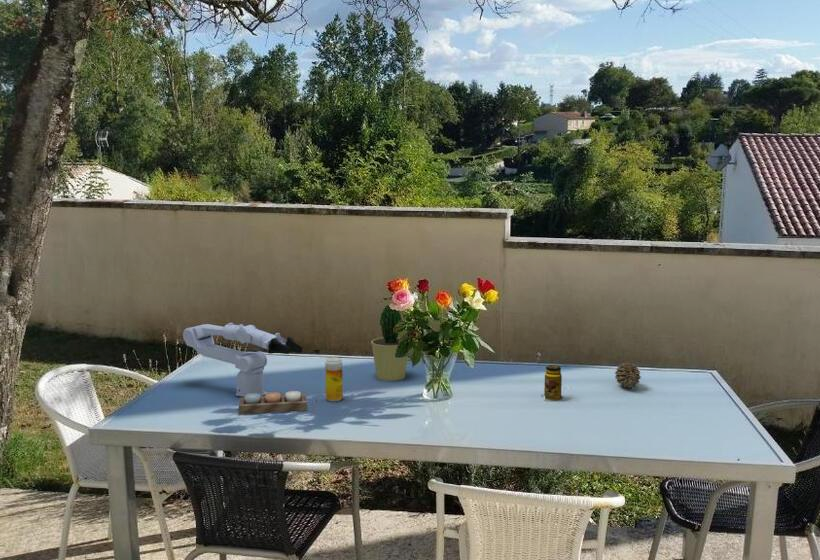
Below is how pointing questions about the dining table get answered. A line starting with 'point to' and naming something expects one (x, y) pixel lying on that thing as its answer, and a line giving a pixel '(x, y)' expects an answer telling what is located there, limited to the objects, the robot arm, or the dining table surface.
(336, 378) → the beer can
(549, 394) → the condiment
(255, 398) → the slate button
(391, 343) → the potted cactus
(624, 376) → the pine cone
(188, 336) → the robot arm
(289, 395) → the cream button
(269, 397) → the terracotta button
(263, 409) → the button board
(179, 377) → the dining table surface
